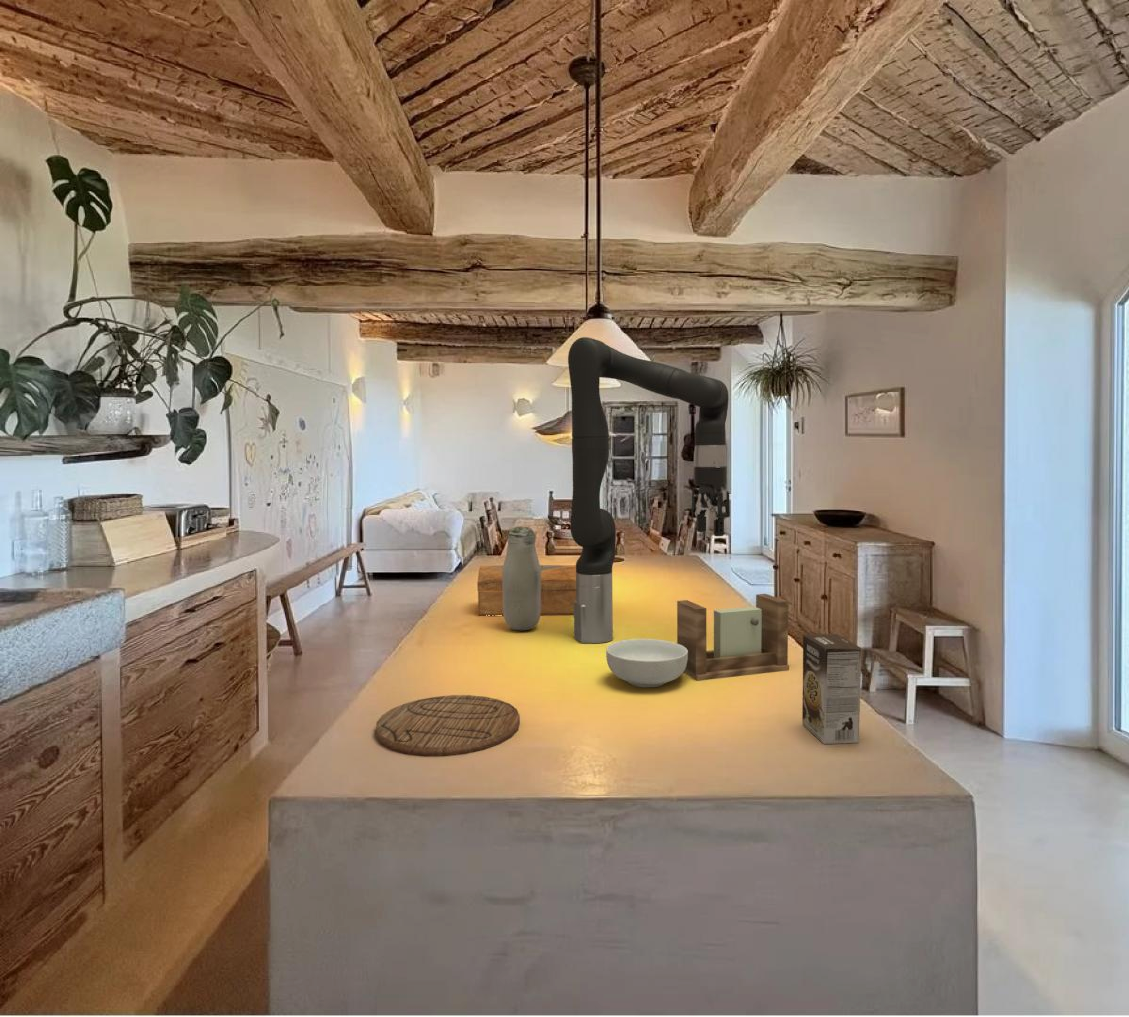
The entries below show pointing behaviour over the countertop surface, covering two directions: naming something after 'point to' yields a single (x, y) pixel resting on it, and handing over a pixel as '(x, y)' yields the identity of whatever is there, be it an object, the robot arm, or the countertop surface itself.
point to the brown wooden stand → (768, 660)
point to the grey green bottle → (521, 580)
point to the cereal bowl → (646, 661)
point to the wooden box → (554, 590)
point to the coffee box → (831, 688)
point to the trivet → (447, 725)
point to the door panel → (737, 631)
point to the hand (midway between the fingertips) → (710, 533)
